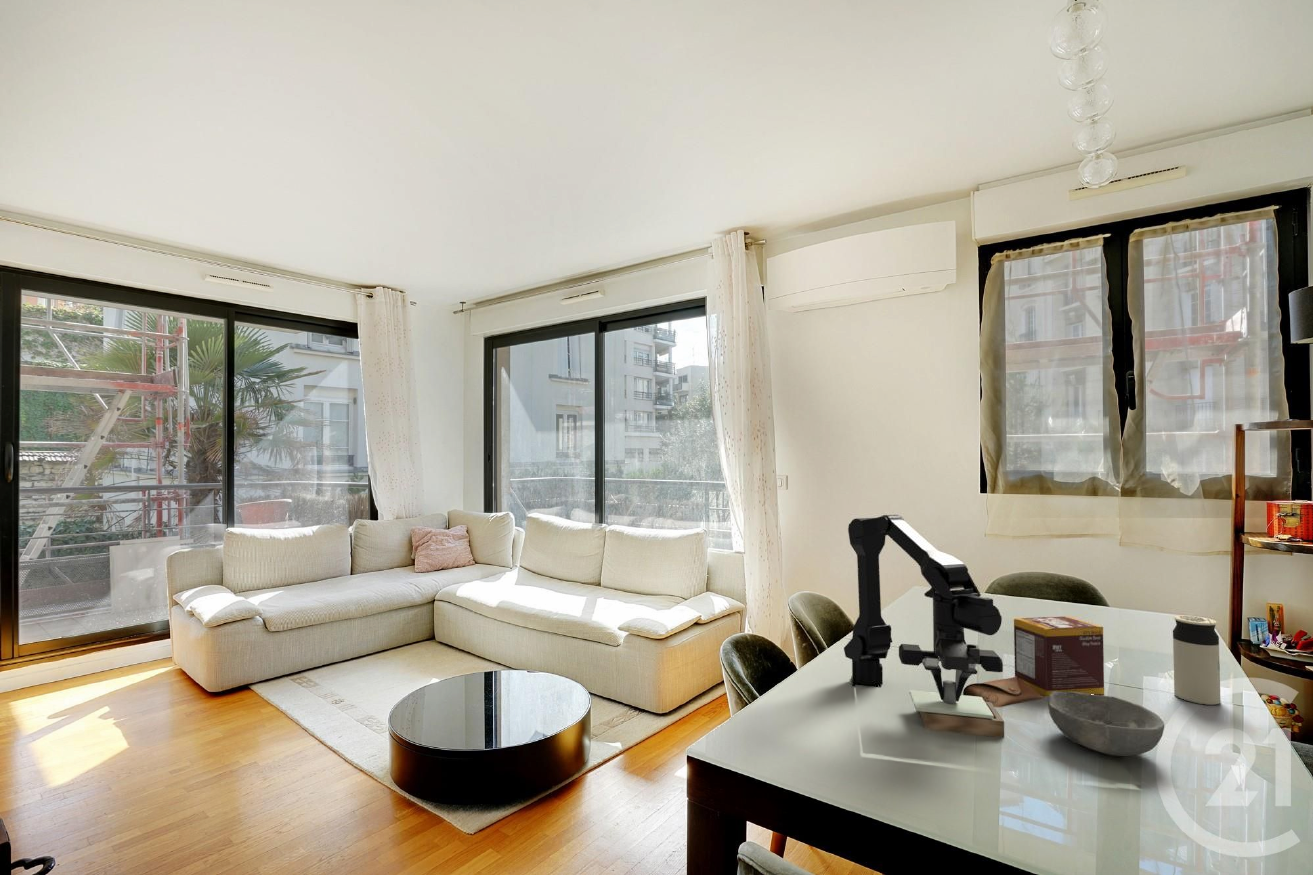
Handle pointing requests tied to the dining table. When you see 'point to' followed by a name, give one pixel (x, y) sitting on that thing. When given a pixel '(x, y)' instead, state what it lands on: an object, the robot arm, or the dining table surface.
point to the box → (965, 723)
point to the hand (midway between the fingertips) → (949, 700)
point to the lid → (950, 702)
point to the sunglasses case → (1003, 691)
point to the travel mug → (1196, 660)
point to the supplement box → (1059, 655)
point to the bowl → (1105, 723)
